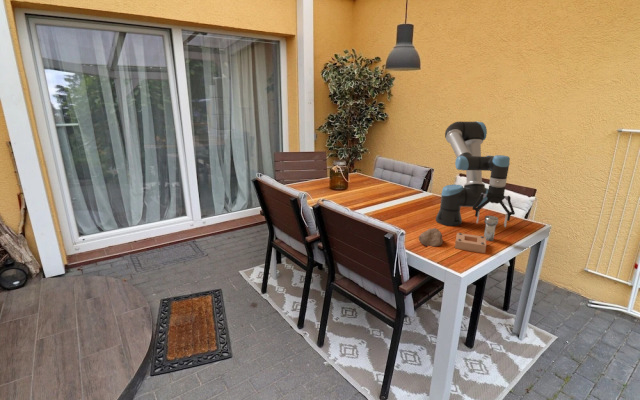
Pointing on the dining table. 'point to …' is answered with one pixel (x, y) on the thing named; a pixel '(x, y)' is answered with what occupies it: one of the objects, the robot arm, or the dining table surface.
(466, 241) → the housing
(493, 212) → the dining table surface
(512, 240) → the dining table surface
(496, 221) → the grey metal plug
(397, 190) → the dining table surface
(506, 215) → the robot arm
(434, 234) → the stone
